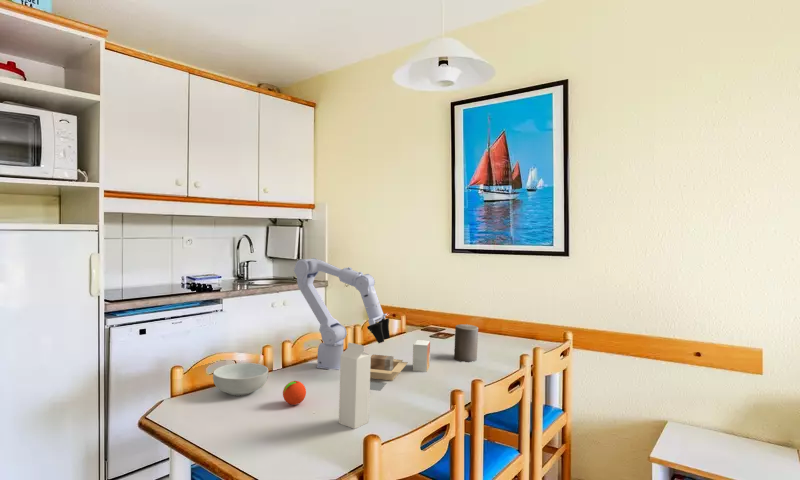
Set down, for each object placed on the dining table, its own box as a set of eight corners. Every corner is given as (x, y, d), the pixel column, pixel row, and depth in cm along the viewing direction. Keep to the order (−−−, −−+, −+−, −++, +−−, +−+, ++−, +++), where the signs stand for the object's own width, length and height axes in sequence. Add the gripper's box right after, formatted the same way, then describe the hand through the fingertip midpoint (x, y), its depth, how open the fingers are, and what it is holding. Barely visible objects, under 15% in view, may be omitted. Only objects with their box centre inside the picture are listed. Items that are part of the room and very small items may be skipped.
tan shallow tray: (350, 379, 168) (350, 369, 168) (366, 365, 185) (366, 356, 185) (397, 384, 163) (397, 374, 163) (408, 369, 181) (409, 360, 181)
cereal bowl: (215, 404, 141) (216, 380, 141) (210, 387, 156) (210, 365, 156) (272, 396, 149) (273, 374, 149) (262, 380, 164) (262, 360, 164)
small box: (426, 373, 177) (427, 345, 177) (412, 371, 179) (413, 344, 178) (429, 367, 185) (430, 340, 185) (415, 365, 186) (416, 339, 186)
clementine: (291, 411, 137) (292, 387, 137) (274, 406, 141) (275, 382, 141) (310, 403, 144) (311, 380, 144) (294, 398, 148) (294, 375, 148)
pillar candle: (451, 360, 196) (452, 324, 196) (457, 354, 205) (458, 320, 205) (474, 363, 192) (475, 327, 192) (479, 357, 202) (481, 322, 201)
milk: (353, 417, 135) (355, 340, 134) (369, 422, 131) (371, 343, 131) (338, 423, 130) (340, 343, 129) (354, 429, 126) (356, 347, 126)
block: (368, 374, 173) (369, 357, 173) (372, 370, 178) (373, 354, 178) (389, 376, 171) (390, 359, 171) (393, 372, 176) (393, 356, 176)
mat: (346, 387, 159) (346, 386, 159) (354, 380, 166) (354, 379, 166) (380, 391, 156) (380, 390, 156) (386, 384, 163) (386, 383, 163)
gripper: (376, 304, 168) (388, 340, 167) (387, 300, 182) (399, 334, 181) (358, 310, 170) (371, 346, 168) (371, 306, 184) (382, 339, 182)
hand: (384, 340), depth 174 cm, fingers open, 7 cm apart
